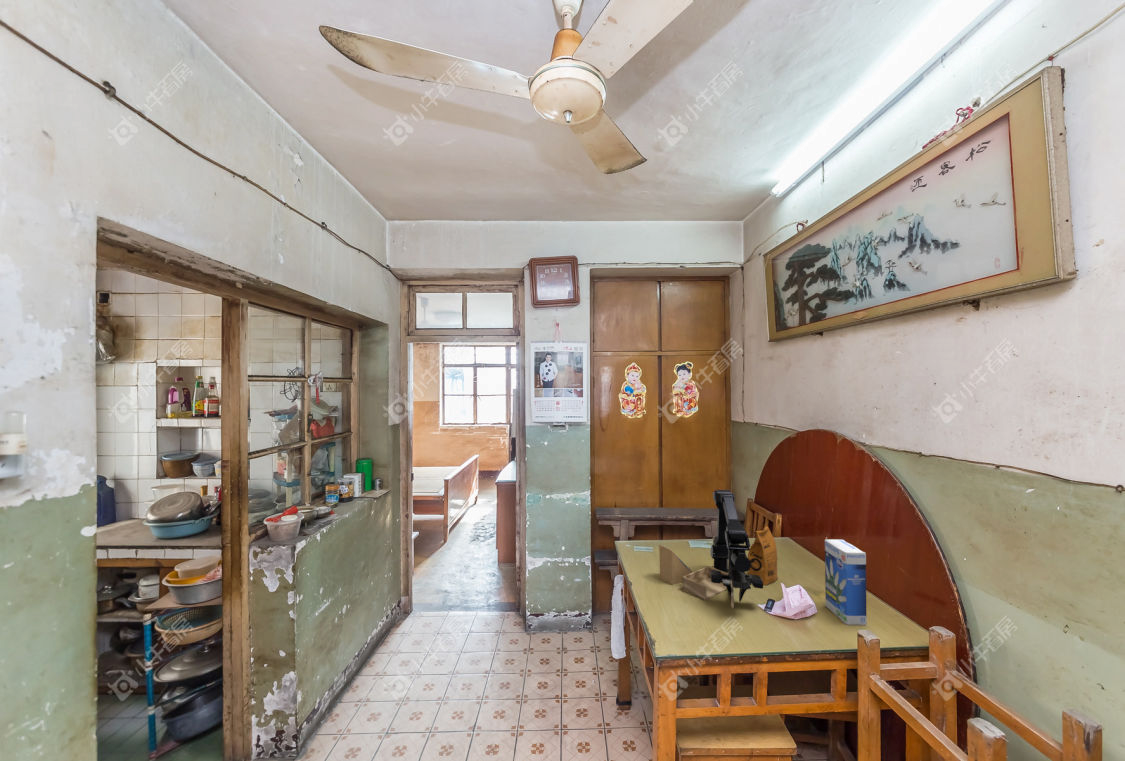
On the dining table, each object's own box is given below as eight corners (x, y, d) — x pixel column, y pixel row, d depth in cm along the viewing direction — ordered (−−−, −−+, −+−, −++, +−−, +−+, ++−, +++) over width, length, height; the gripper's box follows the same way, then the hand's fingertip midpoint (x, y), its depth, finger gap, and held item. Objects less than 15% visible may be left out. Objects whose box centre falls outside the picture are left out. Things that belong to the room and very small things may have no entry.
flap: (731, 588, 178) (731, 575, 178) (733, 588, 177) (733, 575, 177) (731, 607, 162) (731, 593, 162) (733, 608, 162) (733, 593, 162)
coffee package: (744, 578, 187) (743, 528, 187) (759, 571, 194) (758, 523, 194) (765, 587, 179) (764, 535, 179) (781, 579, 186) (780, 529, 186)
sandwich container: (699, 578, 188) (698, 544, 189) (672, 585, 182) (672, 550, 182) (685, 570, 196) (685, 538, 196) (659, 577, 189) (659, 544, 189)
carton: (708, 578, 188) (708, 565, 188) (731, 587, 179) (731, 574, 179) (682, 589, 177) (682, 576, 177) (705, 600, 168) (705, 587, 168)
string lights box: (824, 606, 163) (823, 538, 164) (844, 606, 163) (843, 538, 163) (846, 625, 150) (845, 552, 150) (868, 625, 150) (867, 552, 150)
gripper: (713, 566, 159) (712, 608, 159) (767, 572, 155) (766, 615, 155) (710, 555, 170) (709, 593, 170) (760, 560, 166) (759, 600, 166)
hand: (735, 600), depth 165 cm, fingers open, 3 cm apart
